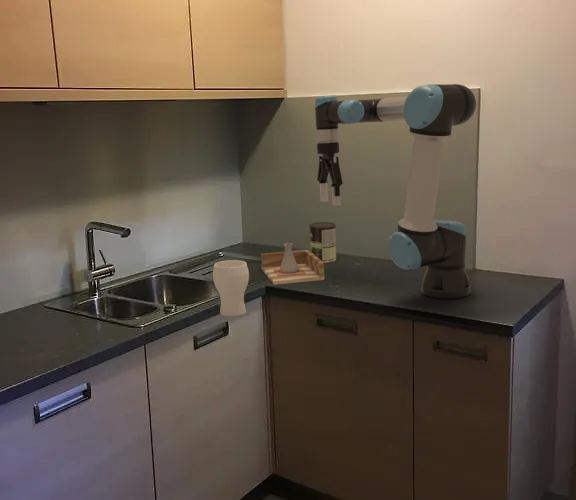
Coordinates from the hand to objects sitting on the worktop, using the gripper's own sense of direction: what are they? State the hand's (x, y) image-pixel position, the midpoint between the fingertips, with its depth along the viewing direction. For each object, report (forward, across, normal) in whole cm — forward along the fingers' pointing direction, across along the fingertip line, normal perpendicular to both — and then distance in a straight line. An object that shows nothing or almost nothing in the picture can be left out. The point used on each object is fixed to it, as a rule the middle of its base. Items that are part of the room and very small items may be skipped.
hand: (330, 203), depth 231 cm
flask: (+24, +7, +14) cm, 29 cm away
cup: (+26, -29, +42) cm, 57 cm away
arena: (+25, +7, +14) cm, 30 cm away
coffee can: (+25, +24, -4) cm, 35 cm away
